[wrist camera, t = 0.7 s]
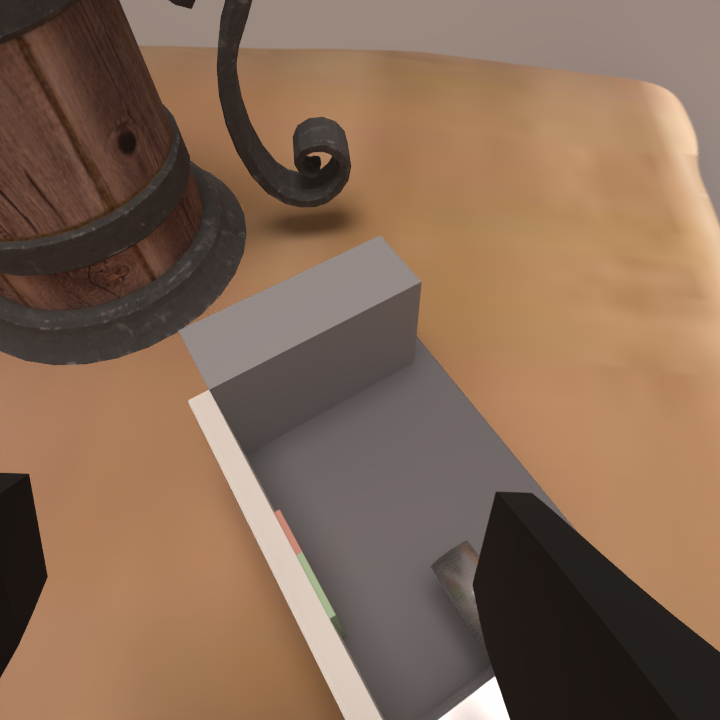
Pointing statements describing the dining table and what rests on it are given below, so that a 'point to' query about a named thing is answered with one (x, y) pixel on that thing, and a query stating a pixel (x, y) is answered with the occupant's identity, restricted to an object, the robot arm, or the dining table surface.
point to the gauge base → (355, 472)
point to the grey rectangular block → (481, 694)
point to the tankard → (120, 185)
